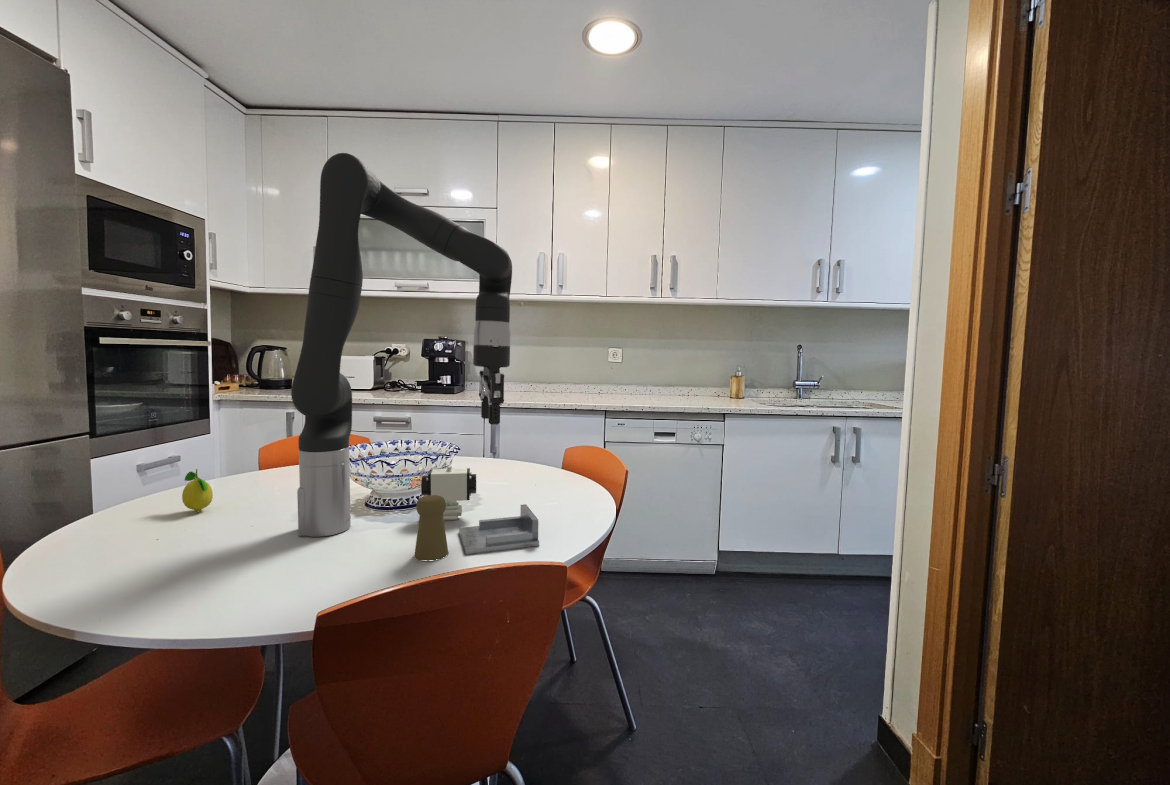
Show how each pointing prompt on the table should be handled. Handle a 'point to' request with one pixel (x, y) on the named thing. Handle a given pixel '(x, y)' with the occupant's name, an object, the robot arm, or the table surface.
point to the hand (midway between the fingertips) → (490, 421)
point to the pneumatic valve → (450, 488)
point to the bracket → (501, 533)
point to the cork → (431, 528)
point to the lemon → (196, 493)
